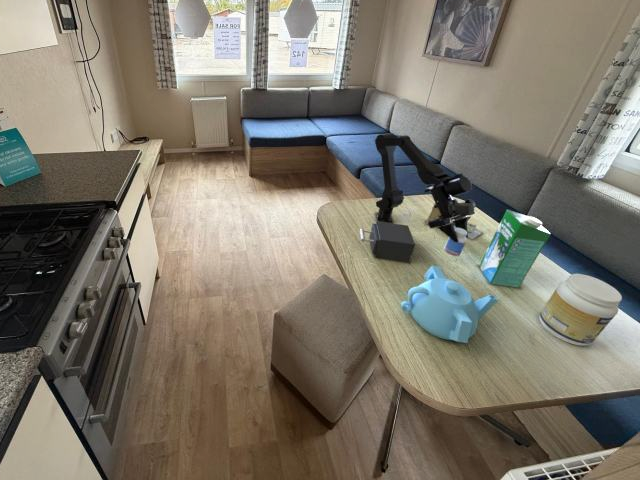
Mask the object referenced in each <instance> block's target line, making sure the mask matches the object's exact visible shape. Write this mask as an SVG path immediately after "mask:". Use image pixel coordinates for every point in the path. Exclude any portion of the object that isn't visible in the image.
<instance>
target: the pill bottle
mask: <svg viewBox="0 0 640 480" xmlns="http://www.w3.org/2000/svg"><path fill="white" fill-rule="evenodd" d="M455 232H456V235H457V238H458V242H454V241H453V240H452V239H451V238H450V237H448V239H447V240H446V243H445V245H444V248H443V250H444V252H445V254H447V255H449V256H452V257H459V256H460V255H461V254H462V252H463V250H464V247H465V246H466V243H467V240H468V238H466V235H467V231H466V230H464V229H462V228H455Z"/></svg>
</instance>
